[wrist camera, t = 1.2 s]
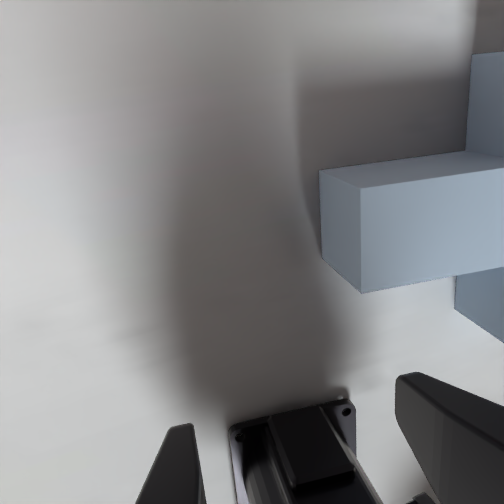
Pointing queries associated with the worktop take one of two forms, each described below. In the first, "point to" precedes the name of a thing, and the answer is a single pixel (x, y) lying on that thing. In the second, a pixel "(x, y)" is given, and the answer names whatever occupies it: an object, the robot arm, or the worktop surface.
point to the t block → (429, 212)
